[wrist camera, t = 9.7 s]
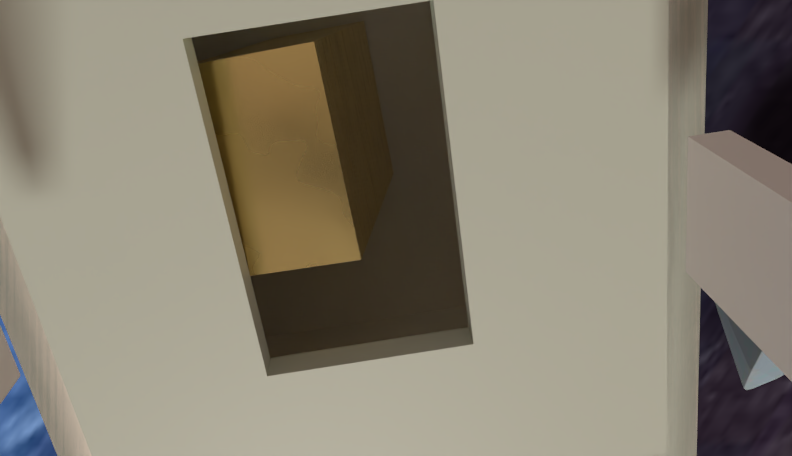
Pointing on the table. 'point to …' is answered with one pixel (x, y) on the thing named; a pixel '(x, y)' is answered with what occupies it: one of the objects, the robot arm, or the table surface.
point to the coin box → (387, 246)
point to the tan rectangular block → (301, 146)
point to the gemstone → (748, 356)
